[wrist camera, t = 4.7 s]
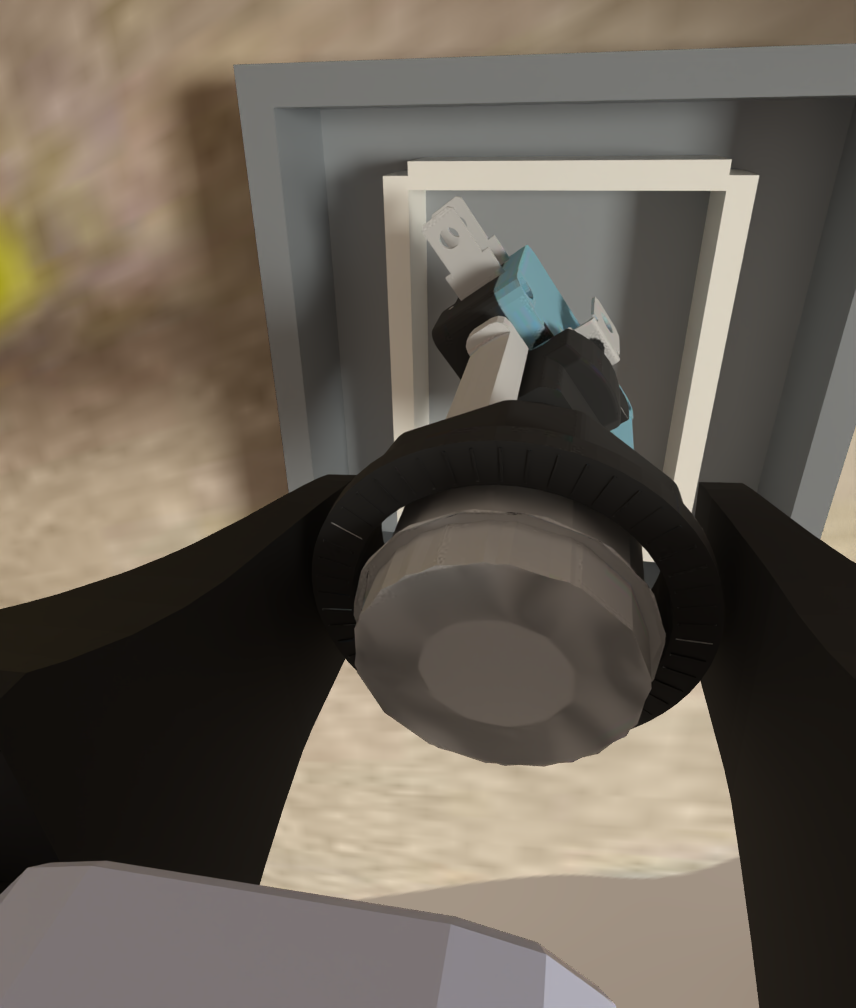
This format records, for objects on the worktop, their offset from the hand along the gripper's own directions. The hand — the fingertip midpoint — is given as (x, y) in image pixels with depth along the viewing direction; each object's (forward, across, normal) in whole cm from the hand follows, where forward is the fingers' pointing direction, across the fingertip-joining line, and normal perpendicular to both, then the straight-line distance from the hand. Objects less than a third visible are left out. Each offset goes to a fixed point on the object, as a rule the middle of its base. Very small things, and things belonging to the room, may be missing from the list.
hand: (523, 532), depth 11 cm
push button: (+7, 0, -2) cm, 7 cm away
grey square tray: (+10, 0, 0) cm, 10 cm away
